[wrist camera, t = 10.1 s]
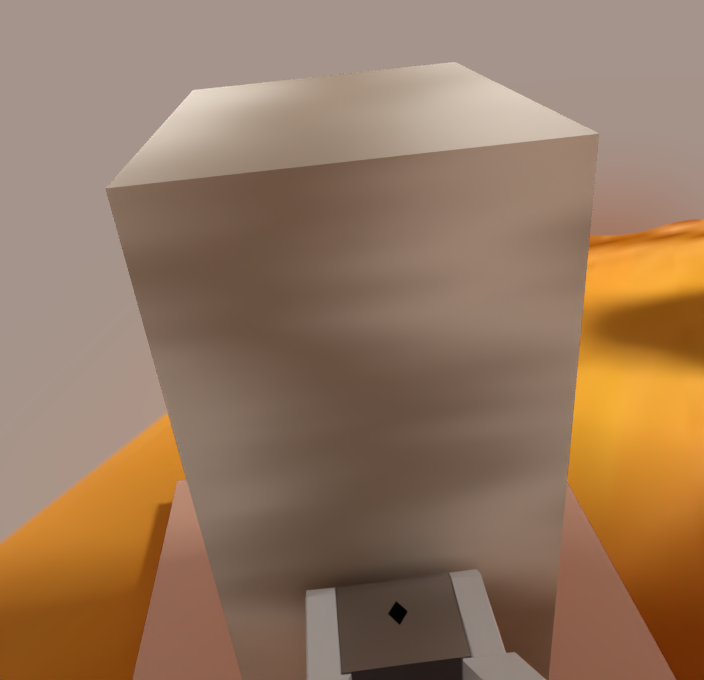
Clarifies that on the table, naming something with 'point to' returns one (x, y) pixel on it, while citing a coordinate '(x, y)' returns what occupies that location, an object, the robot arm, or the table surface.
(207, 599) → the chute
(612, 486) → the table surface
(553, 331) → the block
